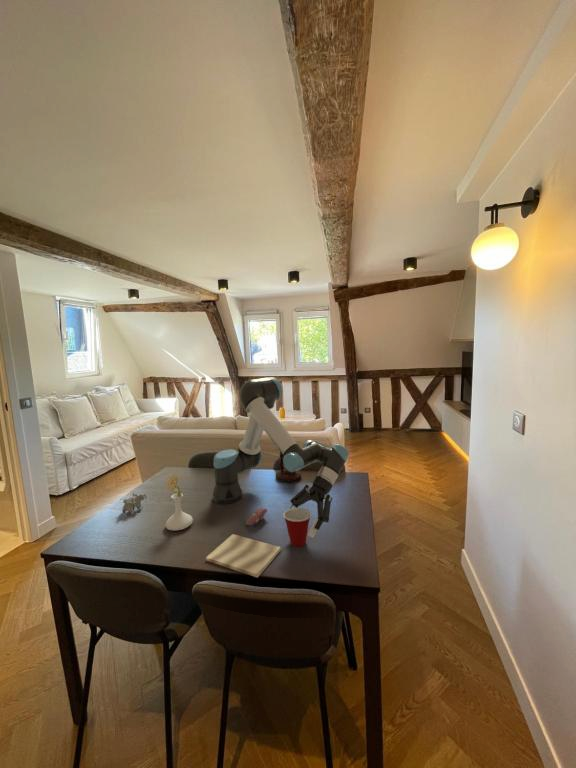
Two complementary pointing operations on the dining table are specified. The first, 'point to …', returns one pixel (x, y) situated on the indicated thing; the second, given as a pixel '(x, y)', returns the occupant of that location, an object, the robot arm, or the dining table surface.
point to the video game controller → (256, 516)
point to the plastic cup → (297, 525)
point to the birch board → (244, 555)
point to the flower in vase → (177, 507)
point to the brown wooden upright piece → (286, 472)
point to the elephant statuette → (133, 503)
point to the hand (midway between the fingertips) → (298, 529)
